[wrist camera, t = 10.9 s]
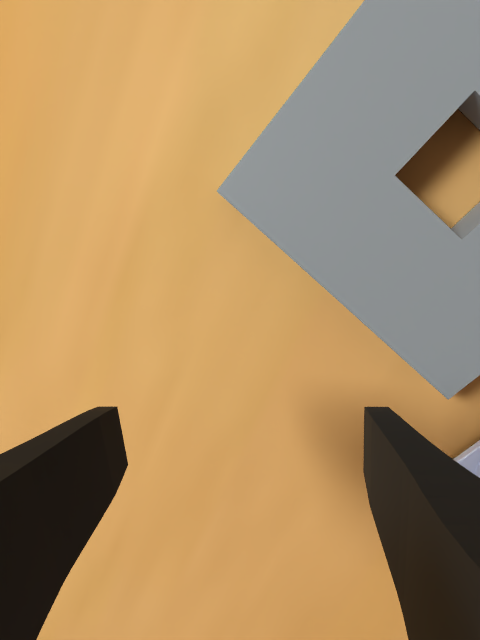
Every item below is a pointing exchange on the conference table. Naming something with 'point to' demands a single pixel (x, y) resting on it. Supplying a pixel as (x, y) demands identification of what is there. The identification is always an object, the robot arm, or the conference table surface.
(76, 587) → the conference table surface
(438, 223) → the cover plate
